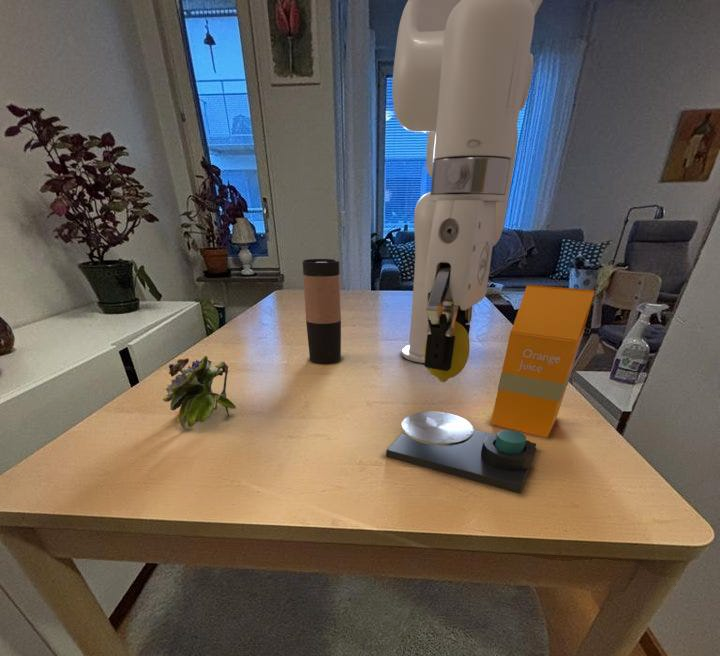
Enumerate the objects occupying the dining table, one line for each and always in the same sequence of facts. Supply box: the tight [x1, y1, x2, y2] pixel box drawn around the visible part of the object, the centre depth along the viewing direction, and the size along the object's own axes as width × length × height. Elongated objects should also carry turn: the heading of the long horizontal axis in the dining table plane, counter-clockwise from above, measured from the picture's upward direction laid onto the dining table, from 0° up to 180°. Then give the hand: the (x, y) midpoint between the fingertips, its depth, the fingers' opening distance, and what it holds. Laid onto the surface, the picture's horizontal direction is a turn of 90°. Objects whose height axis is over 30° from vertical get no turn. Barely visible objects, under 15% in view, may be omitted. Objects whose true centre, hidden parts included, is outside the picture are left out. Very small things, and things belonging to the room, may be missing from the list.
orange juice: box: [490, 284, 596, 438], centre depth 59 cm, size 8×9×20 cm
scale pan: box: [401, 410, 475, 446], centre depth 55 cm, size 10×10×1 cm
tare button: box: [495, 429, 527, 454], centre depth 51 cm, size 4×4×2 cm
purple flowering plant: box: [162, 355, 237, 431], centre depth 64 cm, size 11×11×12 cm
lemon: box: [424, 318, 471, 383], centre depth 49 cm, size 6×6×8 cm
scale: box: [385, 429, 537, 494], centre depth 55 cm, size 12×18×3 cm, turn 62°
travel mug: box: [302, 258, 342, 365], centre depth 85 cm, size 8×8×20 cm
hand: (445, 360), depth 50 cm, fingers closed on lemon, 5 cm apart
